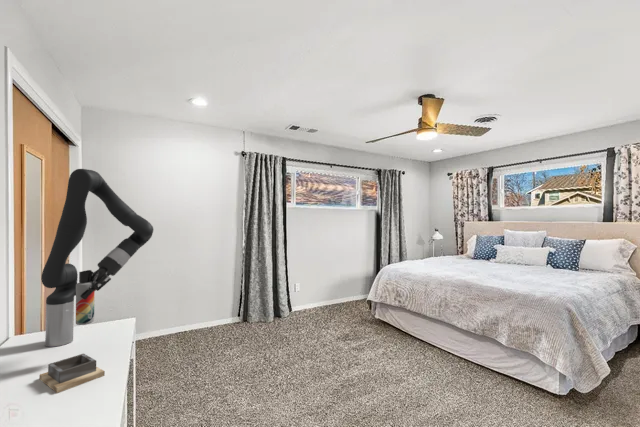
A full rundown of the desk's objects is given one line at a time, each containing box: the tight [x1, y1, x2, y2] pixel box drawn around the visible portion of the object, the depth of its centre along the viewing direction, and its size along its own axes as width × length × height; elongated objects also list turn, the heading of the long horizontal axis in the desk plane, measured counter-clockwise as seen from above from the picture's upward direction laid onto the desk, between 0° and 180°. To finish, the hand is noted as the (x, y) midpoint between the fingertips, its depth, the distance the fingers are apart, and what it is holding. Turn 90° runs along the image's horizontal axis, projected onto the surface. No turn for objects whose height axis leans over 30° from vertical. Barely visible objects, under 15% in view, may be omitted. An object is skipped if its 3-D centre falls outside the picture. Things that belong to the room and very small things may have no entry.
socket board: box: [38, 353, 105, 394], centre depth 107 cm, size 15×13×5 cm
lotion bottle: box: [75, 269, 96, 326], centre depth 121 cm, size 6×6×20 cm
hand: (79, 296), depth 119 cm, fingers closed on lotion bottle, 5 cm apart
